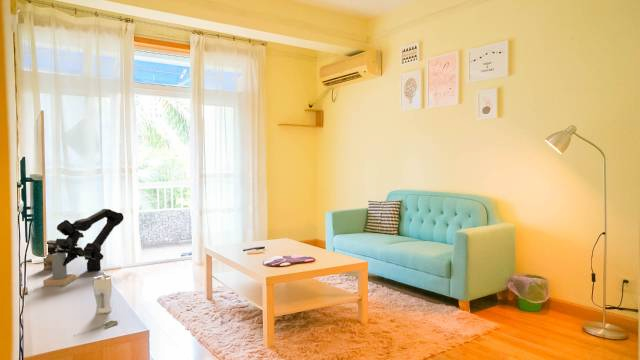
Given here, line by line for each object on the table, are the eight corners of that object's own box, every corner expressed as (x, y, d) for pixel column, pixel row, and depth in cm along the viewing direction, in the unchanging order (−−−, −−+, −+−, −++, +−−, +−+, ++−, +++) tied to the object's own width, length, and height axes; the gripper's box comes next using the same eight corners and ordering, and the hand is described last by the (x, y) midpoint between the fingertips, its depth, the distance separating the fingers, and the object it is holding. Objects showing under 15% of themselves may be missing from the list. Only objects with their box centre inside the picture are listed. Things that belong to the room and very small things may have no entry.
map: (121, 323, 175) (120, 321, 175) (70, 343, 157) (69, 341, 157) (113, 321, 177) (113, 319, 177) (62, 340, 160) (62, 338, 160)
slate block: (67, 277, 230) (65, 253, 229) (61, 279, 226) (60, 254, 225) (58, 276, 230) (56, 252, 229) (52, 279, 226) (51, 254, 225)
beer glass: (92, 311, 187) (90, 277, 186) (108, 307, 192) (107, 274, 191) (98, 315, 182) (96, 281, 181) (115, 311, 187) (113, 277, 186)
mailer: (80, 276, 240) (80, 270, 240) (65, 285, 223) (65, 280, 223) (60, 276, 239) (60, 271, 239) (43, 286, 222) (43, 280, 222)
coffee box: (43, 269, 253) (41, 242, 252) (50, 266, 260) (49, 240, 259) (57, 269, 252) (56, 242, 251) (65, 267, 259) (64, 240, 258)
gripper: (48, 231, 232) (33, 257, 222) (80, 232, 230) (67, 258, 220) (59, 243, 240) (45, 268, 230) (90, 243, 239) (78, 268, 228)
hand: (58, 265), depth 227 cm, fingers closed on slate block, 5 cm apart
